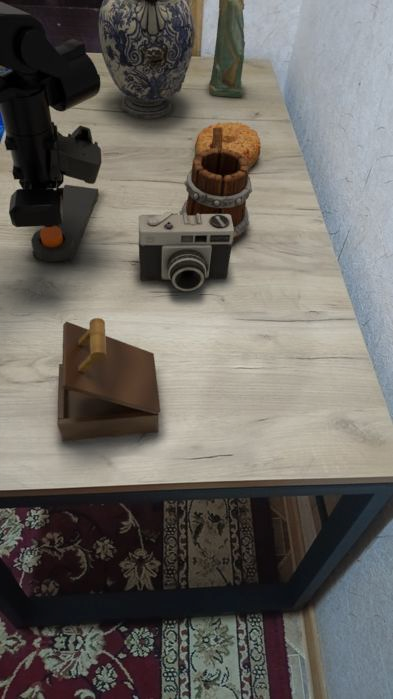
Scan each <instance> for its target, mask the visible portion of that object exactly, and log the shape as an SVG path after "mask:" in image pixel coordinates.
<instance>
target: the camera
mask: <svg viewBox="0 0 393 699" xmlns="http://www.w3.org/2000/svg"><path fill="white" fill-rule="evenodd" d="M233 235H234V228H233V223H232V219H231V215H229V214H199V213H198V214H196V215H195V216H188V215H187V214H186V213H184V215H182V214H179V213H178V212H165V213H162V214H140V215H139V216H138V244H137V245H138V266H139V274H140V280H141V281H167V280H168V281H170V283H171V284H172V286H173V287H175V288H176V289H178V290H180V291H184V292H189V291H194V290H196V289H199V288H200V287H201V286H202V285H203V284H204V282H205V281H206V280H219V279H227V277H228V272H229V264H230V260H231V253H232V247H233V242H234V241H233Z"/></svg>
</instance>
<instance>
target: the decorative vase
mask: <svg viewBox="0 0 393 699" xmlns="http://www.w3.org/2000/svg"><path fill="white" fill-rule="evenodd" d="M98 38H99V46H100V51H101V54H102V58H103V61H104V64H105V66H106V69H107V71H108V73H109V75H110V77H111V79H112V81H113V83H114V84H115V86H116V87H117V88H118V90H119V91H120V93H122V94H123V95H124V97H123V99H122V102H121V106H122V109H123V110H124V112H126V113H127V114H128V115H130V116H132V117H134V118H139V119H145V120H152V119H153V120H154V119H159V118H162V117H165V116H166V115H168V114H169V113H170V112H171V109H172V105H171V102H170V98H172V97H173V96H174V95H176V94H177V93H179V92H181V91H182V90H181V89H182V87H183V83H184V82H185V79H186V74H187V72H188V69H189V66H190V63H191V60H192V57H193V51H194V45H195V19H194V15H193V12H192V9H191V7H190V5H189V3H188V2H187V1H186V0H103V1H102V3H101V6H100V9H99V14H98Z"/></svg>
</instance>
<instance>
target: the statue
mask: <svg viewBox="0 0 393 699" xmlns="http://www.w3.org/2000/svg"><path fill="white" fill-rule="evenodd" d="M218 2H219V3H218V17H217V28H216V39H215V47H214V54H213V65H212V70H211V75H210V81H209V93H210V94H211V95H212V96H216V97H230V98H241V97H242V94H243V86H242V85H243V84H242V77H243V76H242V74H243V68H244V61H245V46H246V42H245V33H244V32H245V31H244V28H245V18H244V10H245V2H244V0H218Z"/></svg>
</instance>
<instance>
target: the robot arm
mask: <svg viewBox="0 0 393 699" xmlns="http://www.w3.org/2000/svg"><path fill="white" fill-rule="evenodd" d="M0 66H1V67H3V68H5V69H7V71H4V72H3V73H0V115H1V118H2V123H3V127H4V131H5V137H4V145H5V149H6V151H10V154H11V158H12V161H13V162H12V163H13V165H12V172H11V173H12V177H13V180H19V181H18V183H19V185H20V187H21V188H17V189H16V190H15V191H14V192H13V193H12V194H11V195H10V199H9V200H10V201H9V207H8V208H9V209H8V215H9V218H10V222H11V225H12V226H13V227H15V228H31V227H32V228H33V227H53V226H58V225H60V224H61V223H63V206H62V200H63V187H62V185H63V184H64V180H65V178H64V176H65V177H69V178H72V179H75V180H80V181H83V182H84V183H85V184H89V185H93V184H95V183H96V181H97V178H98V175H99V171H100V169H101V165H102V161H103V160H102V150H101V147H100V146H99V142H98V141H93V135H92V132H91V129H90V128H89V127H86V126H84V125H78V126H77V128H76V129H75V130H74V131H72V133H67V136H66V135H63V134H62V133H61V132H60V131H59V130H58V125H56V124H55V122H54V121H52V116H51V110H50V107H51V108H52V109H54V111H57V112H62V113H63V112H66V111H67V110H70V109H72V108H73V107H75V106H77V105H79V104H82V103H83V102H85V101H88V100H90V99H92V98H94V97H96V96H97V95H98V94H99V93H100V89H101V76H100V74H99V73H98V70H97V67H96V65H95V63H94V62H93V60H92V58H91V57H90V56H89V55H88V54H87V52H86V44H85V43H84V42H81V41H80V40H76V39H74V38H71V39H69V40H67V41H65V42H64V43H63V44H61V45H59V46H56V47H54V45H53V44H52V43H51V42H50V40H49V39H48V38H47V33H46V29H45V28H44V24H43V21H42V20H40V18H38V17H36V16H35V15H33V14H31V13H29V12H26V11H23V10H21V9H19V8H17V7H14V6H12V5H10V4H6V3H5V2H2V1H0Z"/></svg>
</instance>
